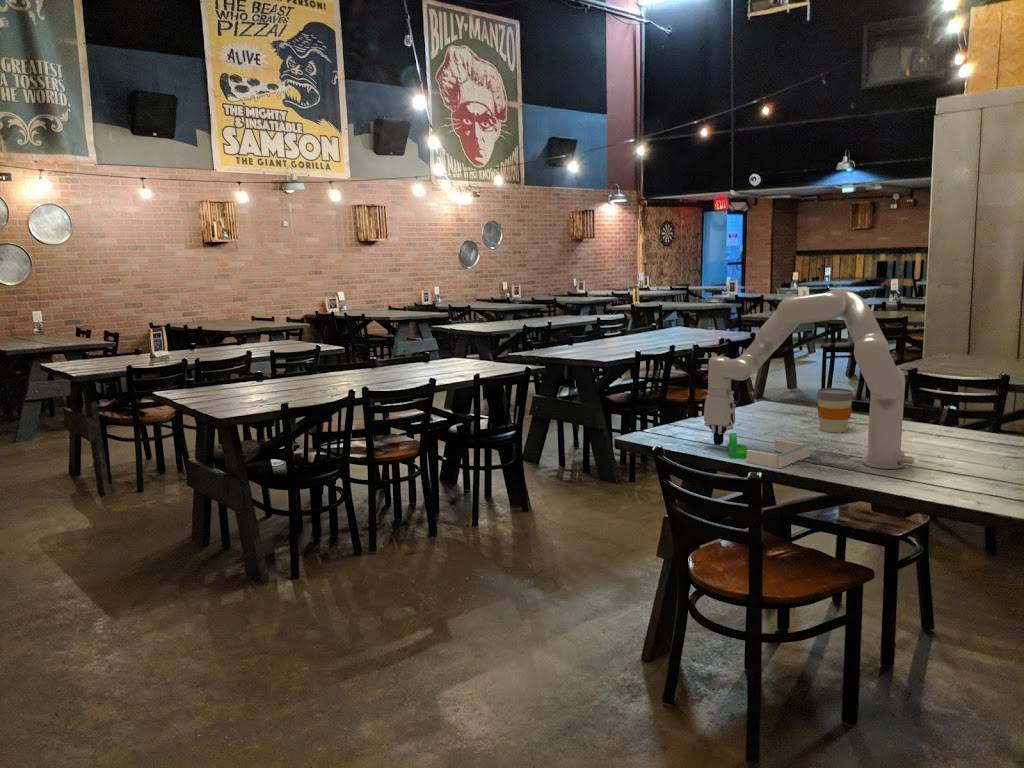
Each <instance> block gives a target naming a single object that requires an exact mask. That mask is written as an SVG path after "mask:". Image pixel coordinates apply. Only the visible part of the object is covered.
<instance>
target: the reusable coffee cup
mask: <svg viewBox="0 0 1024 768" xmlns="http://www.w3.org/2000/svg"><path fill="white" fill-rule="evenodd" d="M816 398H817V403H818V404H817V406H816V407H817V416H818V418H819V426H820V430H821V431H822V432H824V431H825V433H830V432H843V433H846V432H847V428H848V424H849V420H850V418H851V414H852V409H853V406H852V402H853V400H854V393H853V390H851V389H846V388H840V387H839V388H838V387H837V388H836V387H826V388H825V387H824V388H820V389H817V394H816ZM845 431H846V432H845Z"/></svg>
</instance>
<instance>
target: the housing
mask: <svg viewBox="0 0 1024 768" xmlns="http://www.w3.org/2000/svg"><path fill="white" fill-rule="evenodd" d="M810 445H811V444H810V443H807V442H806V443H801V442H794V441H787V440H783V439H774V451H778V452H777V453H778V454H777V453H776V454H774V453H769V452H764V451H759V450H752V449H748V450H747V459H746V464H747V463H749V464H754V465H759V466H763V467H768V468H773V467H775V468H774V469H778V468H781V469H783V468H782V467H784V466H786V465H788V464H791V463H793V462H796V461H798V460H800V461H802V460H801V459H803V460H804V458H805V459H807V458H810V451H811V450H810V449H811V448H810V447H811V446H810ZM774 451H773V452H774ZM780 452H783V453H780ZM806 457H807V458H806ZM798 462H799V461H798ZM796 463H797V462H796ZM793 464H794V463H793ZM791 465H792V464H791ZM788 466H789V465H788ZM786 467H787V466H786ZM784 468H785V467H784Z"/></svg>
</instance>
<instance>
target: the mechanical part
mask: <svg viewBox="0 0 1024 768" xmlns="http://www.w3.org/2000/svg"><path fill="white" fill-rule="evenodd" d="M728 438H729V439H728V443H727V444H726V445H727V448H726V449H727V452H728V456H729V455H730V456H729V458H730V459H746V460H747V450H749V449H748V446H747V445H744V444H742V443H741V444H740V443H738V435H737V433H736V432H734V433H733V432H729V437H728Z"/></svg>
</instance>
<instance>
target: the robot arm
mask: <svg viewBox="0 0 1024 768" xmlns="http://www.w3.org/2000/svg"><path fill="white" fill-rule="evenodd" d="M839 317H840V318H841V319H842V320H843V322H844V323H845V326H846V329H847V331H848V332H849V334H850V337H851V340H852V342H853V343H854V349H853V355H854V360H855V362H856V364H857V366H858V369H859V371H860V373H861V375H862V378H863V379H864V381H865V384H866V385H867V388H868V390H869V391H870V396H869V397H870V398H869V411H868V412H869V413H868V414H869V415H868V416H869V417H868V434H867V450H866V451H867V453H866V456H863V457H862V458H861V463H862V465H865V466H867V467H871V468H875V469H884V470H885V469H886V470H897V469H903V468H905V467H906V465H907V464H908V465H914V463H915V458H914V457H913V456H909V455H905V451H904V450H902V434H903V419H904V418H903V417H904V402H905V390H906V377H905V373H904V372H903V371H902V369H900V367H898V366H896V364H895V361H894V359H893V357H892V355H891V353H890V344H889V343H888V341H887V338H886V337H885V335H884V333H883V331H882V329H881V327H880V325H879V323H878V321H877V319H876V317H875V315H874V313H873V311H872V309H871V308H870V306H869V304H868V303H867V301H866V300H865V299H864V298H863V297H861V296H860V295H859V294H857V293H855V292H852V291H850V290H843V289H833V290H829V291H826V292H821V293H817V294H809V295H802V296H797V295H791V296H788V297H786V298H784V299H782V300H781V301H780V302H779V304H778V306H777V308H776V310H775V311H774V312H773V313H772V314H771V316H770V317H768V319H766V321H765V322H764V323H763V325H762V326H761V327H760V328H759V329H758V332H757V335H756V337H755V338H754V340H753V341H752V342H751V343H750V345H749V346H748V347H747V348H746V349H745V351H744V352H743V353H742V354H740V356H738V357H736V358H730V357H727V356H723V355H722V356H721V355H720V356H719V355H716V356H711V357H710V358H709V359H708V374H707V375H708V378H707V380H708V381H707V383H708V384H707V386H708V387H707V395H706V397H705V402H704V407H703V421H704V426H705V427H708V428H709V429H710V430H711V433H712V434H713V445H714V446H721V445H723V444H724V436H725V435H724V434H725V433H726V432H727V431H731V430H733V429H734V425H735V424H736V409H735V408H736V407H735V401H734V397H733V395H734V394H735V392H734V390H732V381H733V380H734V381H745V380H747V379H749V378H751V377H752V376H753V375H754V374H755V373H756V372H757V371H758V370H759V369H760V368H761V367H762V366H763V364H764V363H765V362H766V361H767V360H768V359H769V358H770V357H771V355H772V354H774V352H776V350H778V349H779V348H780V346H781V345H782V344H783V343H784V342H785V341H786V339H787V338H788V337H789V336H790V335H791V334H792V333H793V331H795V330H796V328H797V327H798V326H799V325H801V324H809V323H815V322H824V321H831V320H832V321H833V320H835V319H837V318H839Z"/></svg>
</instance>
